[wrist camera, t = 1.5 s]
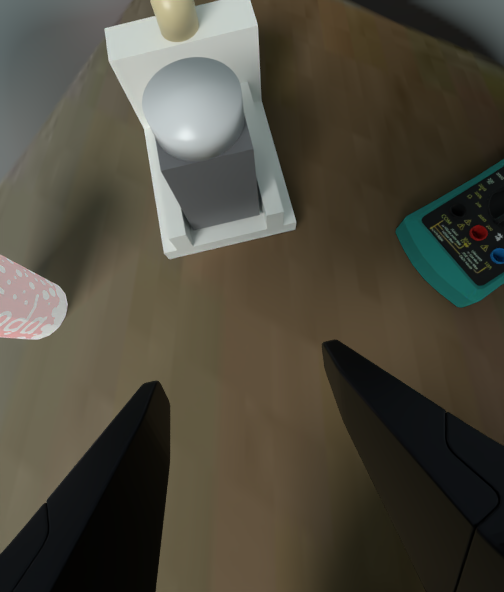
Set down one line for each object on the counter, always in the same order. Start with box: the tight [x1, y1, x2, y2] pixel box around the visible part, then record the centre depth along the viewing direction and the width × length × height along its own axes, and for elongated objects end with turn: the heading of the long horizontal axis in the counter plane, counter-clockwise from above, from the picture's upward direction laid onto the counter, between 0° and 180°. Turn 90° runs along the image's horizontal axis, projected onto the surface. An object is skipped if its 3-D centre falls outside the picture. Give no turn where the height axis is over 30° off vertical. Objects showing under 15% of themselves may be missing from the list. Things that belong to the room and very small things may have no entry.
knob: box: [142, 57, 260, 230], centre depth 20 cm, size 5×5×9 cm
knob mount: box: [105, 0, 296, 259], centre depth 22 cm, size 14×10×9 cm
